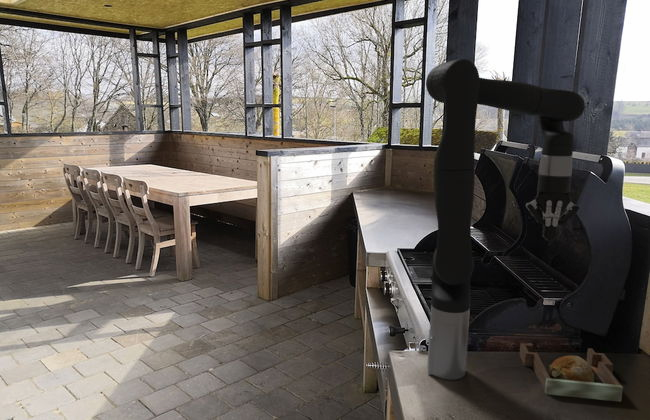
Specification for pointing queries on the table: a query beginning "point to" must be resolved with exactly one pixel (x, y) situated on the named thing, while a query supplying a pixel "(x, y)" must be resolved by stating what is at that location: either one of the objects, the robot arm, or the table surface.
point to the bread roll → (571, 369)
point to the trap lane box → (580, 389)
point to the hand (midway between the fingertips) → (548, 239)
